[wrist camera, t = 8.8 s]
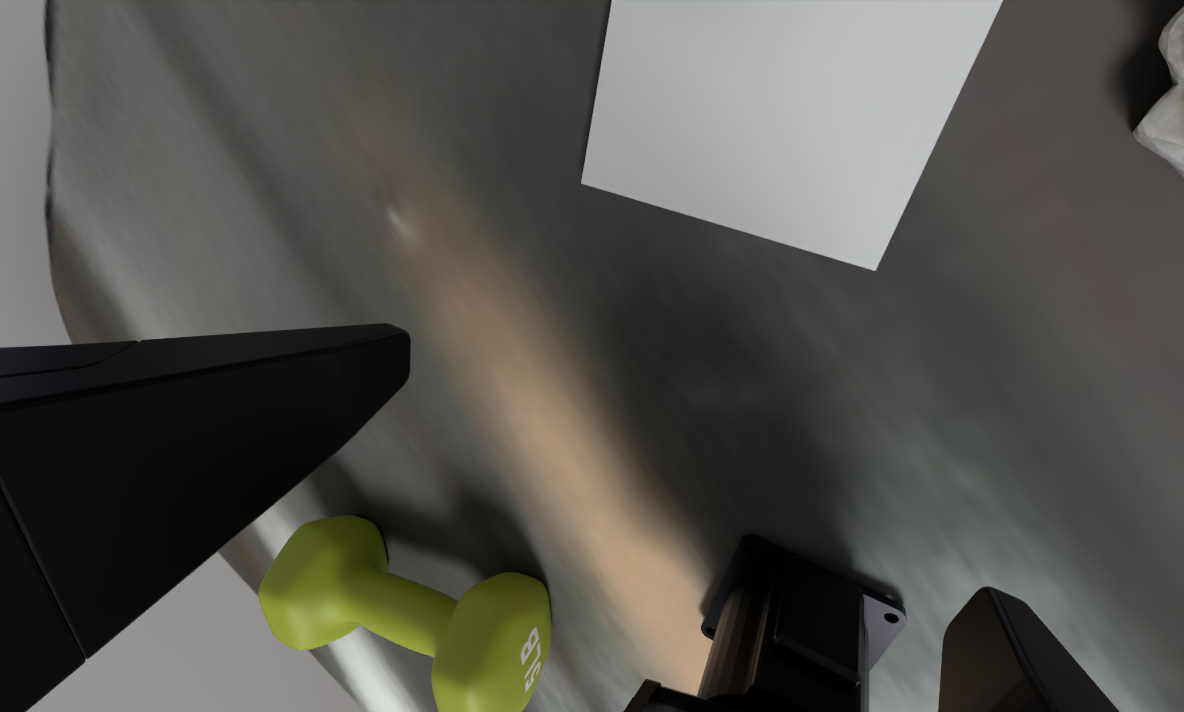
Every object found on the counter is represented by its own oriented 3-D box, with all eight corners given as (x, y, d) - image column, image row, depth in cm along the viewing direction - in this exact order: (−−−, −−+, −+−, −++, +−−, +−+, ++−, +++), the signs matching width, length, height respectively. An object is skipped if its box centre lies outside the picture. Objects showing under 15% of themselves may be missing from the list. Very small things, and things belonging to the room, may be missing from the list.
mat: (874, 265, 17) (875, 270, 16) (588, 181, 19) (580, 183, 19) (1077, -165, 12) (1086, -178, 11) (653, -191, 15) (645, -201, 14)
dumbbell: (559, 556, 28) (476, 674, 23) (567, 659, 32) (498, 786, 26) (338, 483, 35) (230, 560, 29) (364, 574, 38) (272, 660, 32)
